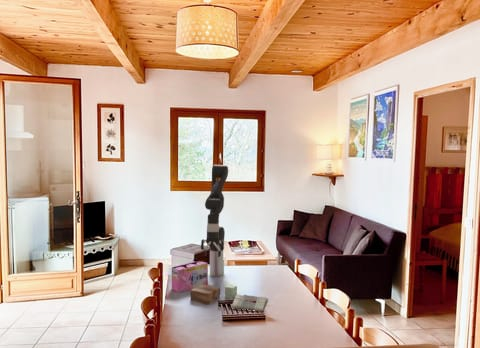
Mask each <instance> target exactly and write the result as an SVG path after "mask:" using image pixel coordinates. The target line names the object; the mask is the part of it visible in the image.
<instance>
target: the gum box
mask: <svg viewBox="0 0 480 348" xmlns="http://www.w3.org/2000/svg"><path fill="white" fill-rule="evenodd" d="M208 265H209V264H208V262H205V261H203V260H198V261H193V262H188V263H185V264H181V265H176V266H172V267H171V290H173V291H175V292H176V293H182V292H185V291H188V290H192V289H194V288H196V287H198V286H200V285H202V284H205V285H209V266H208Z"/></svg>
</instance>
